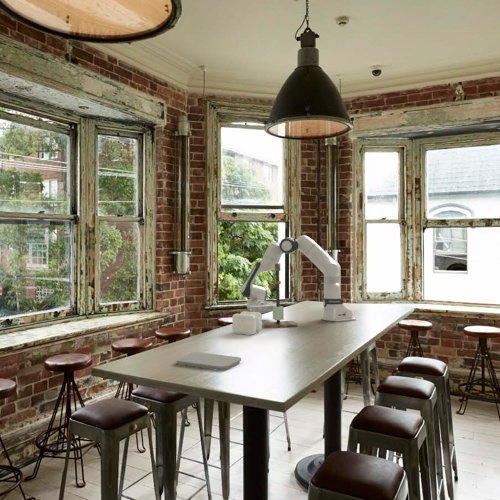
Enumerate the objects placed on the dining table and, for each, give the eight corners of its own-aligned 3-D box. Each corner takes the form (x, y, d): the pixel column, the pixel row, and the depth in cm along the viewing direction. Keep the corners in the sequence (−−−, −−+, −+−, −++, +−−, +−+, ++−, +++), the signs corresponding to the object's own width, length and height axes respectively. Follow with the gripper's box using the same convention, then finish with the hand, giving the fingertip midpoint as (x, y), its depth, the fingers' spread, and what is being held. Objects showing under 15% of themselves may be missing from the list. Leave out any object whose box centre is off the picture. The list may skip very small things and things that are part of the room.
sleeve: (279, 318, 286) (279, 305, 286) (283, 319, 281) (283, 306, 281) (272, 319, 284) (272, 306, 284) (276, 320, 279) (276, 307, 279)
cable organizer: (263, 332, 262) (263, 312, 262) (253, 336, 253) (253, 315, 253) (241, 330, 270) (241, 310, 270) (231, 333, 261) (231, 313, 261)
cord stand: (292, 323, 291) (292, 262, 290) (298, 326, 278) (297, 263, 277) (259, 324, 288) (258, 263, 287) (262, 328, 275) (261, 264, 274)
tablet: (225, 372, 185) (225, 367, 185) (173, 365, 197) (173, 360, 197) (243, 362, 200) (243, 357, 200) (194, 356, 212) (194, 351, 212)
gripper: (246, 303, 302) (254, 305, 290) (273, 301, 310) (282, 303, 298) (246, 312, 302) (254, 315, 290) (273, 310, 311) (283, 313, 298)
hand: (269, 309), depth 294 cm, fingers open, 8 cm apart
